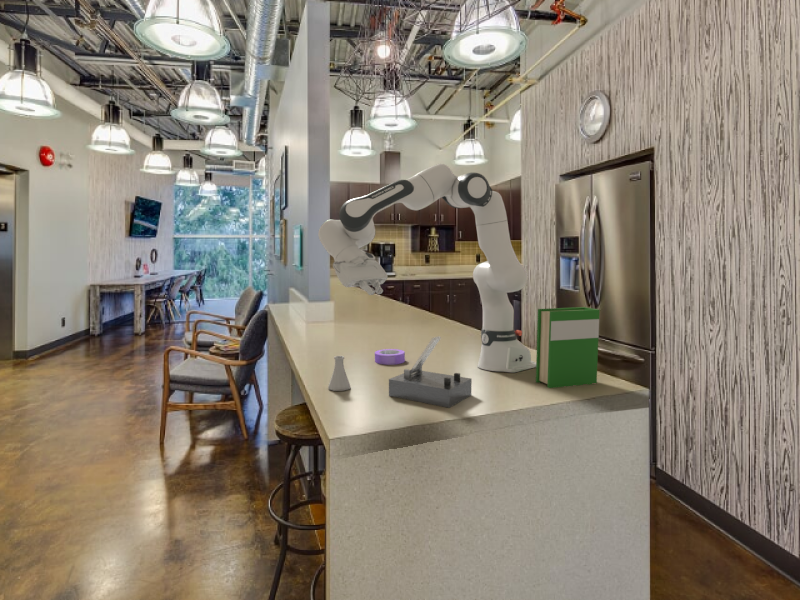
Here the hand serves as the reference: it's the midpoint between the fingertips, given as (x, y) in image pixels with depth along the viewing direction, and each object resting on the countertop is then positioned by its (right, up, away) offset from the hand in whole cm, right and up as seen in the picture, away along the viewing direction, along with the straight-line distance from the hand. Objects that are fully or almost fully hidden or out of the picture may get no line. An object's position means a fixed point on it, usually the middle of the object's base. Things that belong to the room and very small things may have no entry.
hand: (376, 293), depth 149 cm
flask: (-12, -30, 0) cm, 32 cm away
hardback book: (+61, -29, +6) cm, 68 cm away
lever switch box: (+16, -30, -8) cm, 35 cm away
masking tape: (+3, -26, +37) cm, 46 cm away
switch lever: (+15, -19, -8) cm, 26 cm away
